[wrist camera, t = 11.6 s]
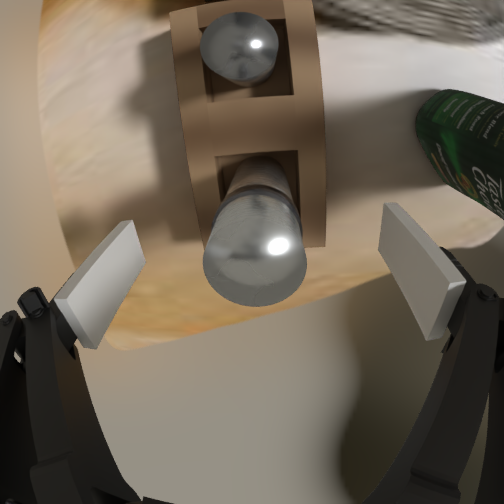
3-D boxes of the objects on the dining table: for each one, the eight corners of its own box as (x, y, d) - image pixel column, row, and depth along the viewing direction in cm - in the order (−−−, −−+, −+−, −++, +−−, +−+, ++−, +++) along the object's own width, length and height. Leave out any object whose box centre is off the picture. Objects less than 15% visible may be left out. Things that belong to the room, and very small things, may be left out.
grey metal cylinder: (229, 156, 22) (189, 220, 11) (286, 151, 22) (310, 212, 10) (235, 208, 24) (210, 310, 13) (289, 204, 24) (309, 305, 13)
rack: (184, 24, 17) (169, 12, 13) (304, 11, 16) (311, -4, 12) (213, 232, 27) (205, 253, 23) (317, 225, 26) (325, 246, 22)
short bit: (220, 45, 17) (196, 18, 10) (271, 39, 17) (274, 8, 10) (225, 89, 19) (204, 83, 12) (276, 85, 19) (282, 75, 12)
